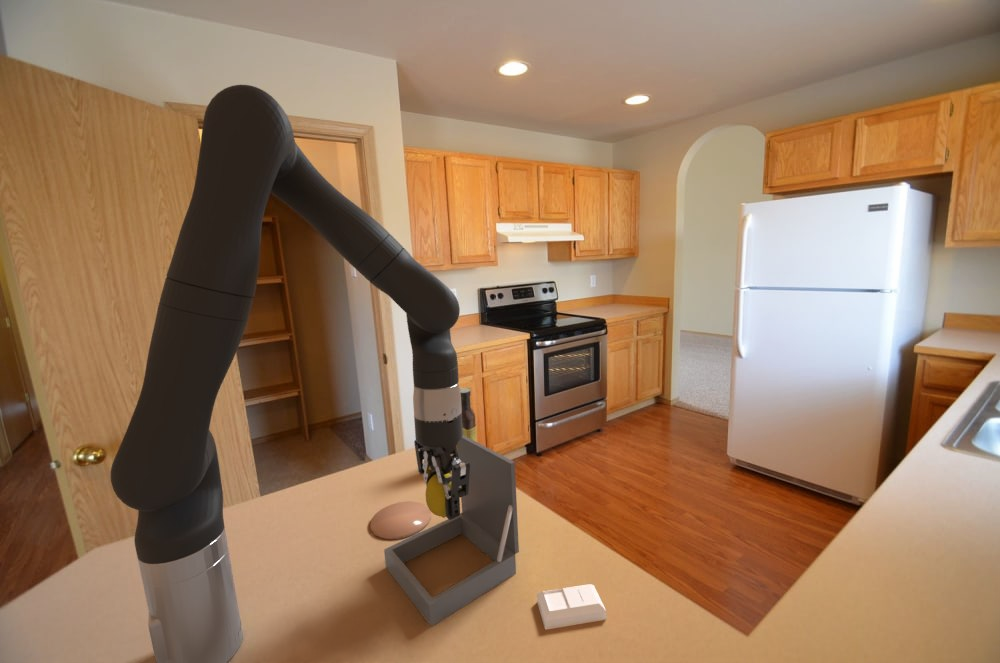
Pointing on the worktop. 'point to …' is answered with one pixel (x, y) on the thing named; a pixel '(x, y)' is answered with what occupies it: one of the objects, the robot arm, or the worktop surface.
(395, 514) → the saucer
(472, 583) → the case
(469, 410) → the sauce bottle
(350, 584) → the worktop surface
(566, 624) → the white rocker switch
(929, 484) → the worktop surface
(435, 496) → the lemon
